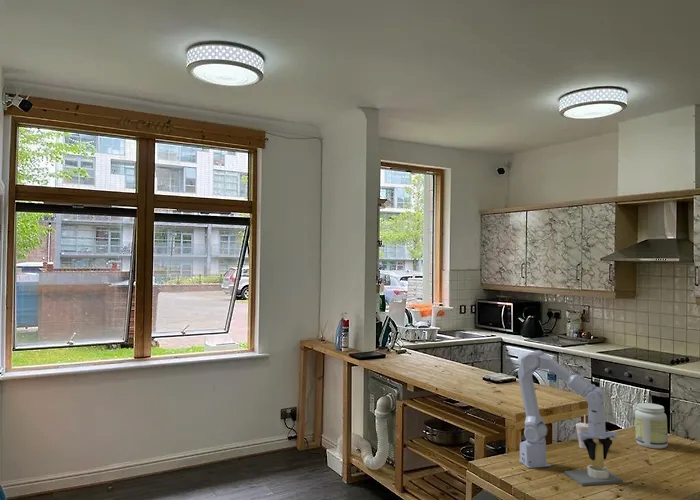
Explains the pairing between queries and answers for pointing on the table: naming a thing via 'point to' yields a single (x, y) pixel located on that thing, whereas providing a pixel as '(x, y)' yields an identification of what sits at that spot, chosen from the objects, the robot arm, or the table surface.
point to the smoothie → (582, 431)
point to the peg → (598, 456)
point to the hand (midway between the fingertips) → (597, 458)
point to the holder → (593, 476)
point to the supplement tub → (651, 426)
